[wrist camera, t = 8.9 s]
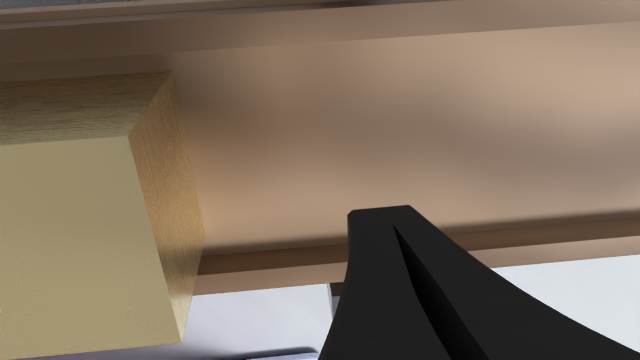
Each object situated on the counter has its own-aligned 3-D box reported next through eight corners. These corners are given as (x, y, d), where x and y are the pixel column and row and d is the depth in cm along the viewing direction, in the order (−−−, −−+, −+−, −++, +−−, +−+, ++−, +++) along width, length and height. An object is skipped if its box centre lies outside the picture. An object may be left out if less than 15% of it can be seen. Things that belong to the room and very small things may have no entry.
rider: (205, 236, 16) (181, 342, 12) (33, 250, 15) (-52, 365, 11) (172, 70, 13) (127, 136, 9) (-37, 84, 13) (-178, 159, 9)
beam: (733, 214, 18) (804, 259, 16) (-17, 281, 17) (-66, 342, 14) (847, -43, 14) (969, -36, 11) (-149, 18, 13) (-252, 41, 10)
